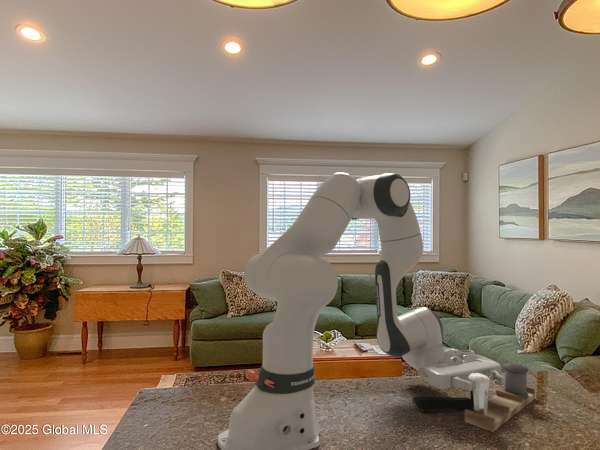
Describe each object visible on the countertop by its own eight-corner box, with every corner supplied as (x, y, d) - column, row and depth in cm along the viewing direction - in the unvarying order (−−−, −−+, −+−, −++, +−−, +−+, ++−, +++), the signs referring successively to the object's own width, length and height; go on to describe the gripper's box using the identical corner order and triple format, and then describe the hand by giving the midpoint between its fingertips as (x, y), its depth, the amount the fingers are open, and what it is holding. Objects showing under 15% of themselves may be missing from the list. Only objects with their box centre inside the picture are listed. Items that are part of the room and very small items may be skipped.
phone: (411, 397, 106) (469, 397, 106) (411, 401, 106) (469, 401, 106) (419, 410, 99) (482, 411, 98) (419, 415, 99) (482, 416, 98)
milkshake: (496, 419, 92) (496, 373, 93) (471, 417, 93) (471, 371, 94) (490, 411, 97) (489, 368, 97) (466, 410, 97) (466, 366, 98)
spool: (523, 400, 103) (523, 372, 103) (499, 393, 107) (499, 366, 107) (531, 394, 107) (531, 367, 107) (508, 387, 111) (508, 361, 111)
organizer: (492, 432, 90) (493, 419, 90) (464, 421, 95) (464, 410, 95) (534, 398, 107) (534, 388, 107) (509, 391, 112) (509, 381, 112)
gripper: (413, 358, 104) (453, 376, 91) (475, 349, 112) (519, 365, 99) (413, 382, 104) (453, 405, 91) (475, 372, 112) (519, 391, 99)
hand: (488, 384), depth 95 cm, fingers open, 8 cm apart
